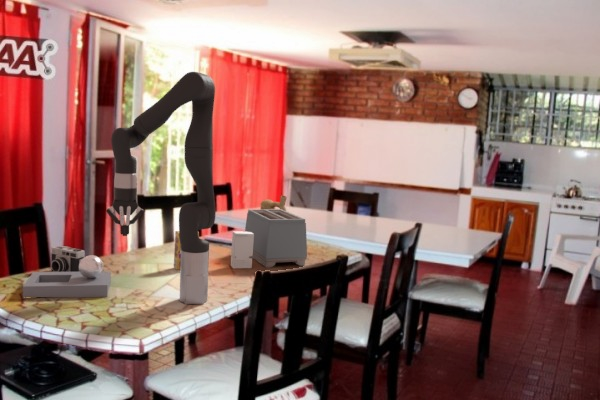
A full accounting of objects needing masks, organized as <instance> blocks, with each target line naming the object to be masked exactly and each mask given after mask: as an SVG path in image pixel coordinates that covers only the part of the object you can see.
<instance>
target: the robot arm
mask: <svg viewBox="0 0 600 400" xmlns="http://www.w3.org/2000/svg"><path fill="white" fill-rule="evenodd" d="M215 95H216V86H215V83H214V80H213V78H212V77H211V76H210V75H208V74H205V73H202V72H198V71H189V72H187V73H185V74H183V76H182V77H181V78H180V79H179V80H177V82H176V83H175V84H174V85H173V86H172V88H171V89H169V90H168V91H167V92H166V93H165V94H164V95H163V96H162V97H161V98H160V99H159V100H158V101H156V102H155V103H154V104H153V105H151V106H150V107H149V108H147V109H146V110H145V111H143V112H142V113H140V114H139V115H137V116H136V118H135V119H134V120H133V124H132V125H131V126H129V127H118V128H116V129H114V130H113V132H112V134H111V137H110V143H111V149H112V152H113V156H114V162H115V163H114V165H115V166H114V179H113V180H114V181H113V182H114V183H113V185H114V186H113V201H112V205H111V206H110V207H108V208H107V209H106V210H105V211H106V213H107V215H108V216H109V217H110V218H111V220H112V221H113V223H115V224H117V225H120V235H122V237H127V236H128V235H129V234H130V226H131V225H134V224H135V223H136V222H137V220H138V219H140V218H141V216H142V215H143V214H144V213H145V210H144V209H143V208H141V207H140V206H139V203H138V200H137V199H138V177H137V165H138V164H137V163H138V162H137V158H136V157H135V156H134V155H132V153H131V149H134V148H137V147H139V146H141V144H142V143H143V142H144V141H145V140H146V139H147V138H148V137H149V136H150V135H151V134H153V133H154V132H156V131H157V130H158V129H160V127H161V128H162V126H163V125H164V124H165V123H167V122H168V120H169V119H170V118H171V116H172V115H173V113H174V112H175V111H177V109H179V108H180V107H182V106H184V105H185V104H187V103H190V102H191V105H192V106H191V107H192V108H191V109H192V113H191V115H192V116H191V121H190V124H189V127H188V129H187V132H186V134H185V139H184V164H185V167H186V169H187V171H188V173H189V174H190V176H191V178H192V179H193V181H194V184H195V186H196V187H195V188H196V191H197V193H196V194H197V201H193V202H186V203H184V204H182V205H181V207H180V209H179V213H178V231H179V239H180V243H181V267H180V271H179V278H180V279H179V301H180V302H181V303H184V305H198V304H199V305H200V304H201V305H202V304H203V305H204V303H206V302H207V301H208V289H209V288H208V287H209V262H210V261H209V260H210V259H209V258H210V242H209V241H208V240H206V239H203V238H201V237H200V236H199V237H198V232H199V231H201V230H207V229H210V228H212V227H213V226H214V224H215V221H216V202H215V192H214V175H213V173H214V170H213V168H214V165H213V164H214V163H213V161H214V158H213V157H214V143H213V141H214V140H213V134H214V132H213V131H214V129H213V128H214V125H213V122H214V121H213V117H214V107H215V104H214V103H215ZM114 210H115V211H114ZM135 211H136V214H135V216H133V218H132V219H131V216H132V215H133V214H134V213H135ZM114 212H116V213H117V215H119V218H118V216H116V214H115V213H114ZM125 217H126V218H125Z"/></svg>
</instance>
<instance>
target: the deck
mask: <svg viewBox="0 0 600 400" xmlns="http://www.w3.org/2000/svg"><path fill="white" fill-rule="evenodd" d="M111 278H112V271H111V270H110V271H108V270H106V271H105V270H104V271H102V273H101V274H100V275H99V276H98V277H96V278H92V279H90V278H86V277H84V276H82V275H81V273H80V272H53V271H33V272H32V273H31V274H30V275H29V278H28V279H27V280H26V282H25V283H24V284H23V285H22V299H25V298H24V297H71V298H106V297H108V296H109V290H110V286H111V282H112V280H111Z"/></svg>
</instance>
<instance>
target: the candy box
mask: <svg viewBox="0 0 600 400" xmlns="http://www.w3.org/2000/svg"><path fill="white" fill-rule="evenodd" d="M174 235H175V236H174V255H173V268H174V269H175V270H176V271H178V270H180V267H181V243H180V239H179V230H176V231H175V234H174ZM198 237H199V238H200V232H199V231H198Z"/></svg>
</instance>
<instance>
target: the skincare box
mask: <svg viewBox="0 0 600 400" xmlns="http://www.w3.org/2000/svg"><path fill="white" fill-rule="evenodd" d="M231 238H232V239H231V252H230V253H231V254H230V267H231V268H232V269H235V270H237V269H252V267H253V258H252V255H253V242H254V234H253V233H252V232H245V230H244V231H242V230H241V231H238V230H235V231H234V230H233V231H232V237H231Z"/></svg>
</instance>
